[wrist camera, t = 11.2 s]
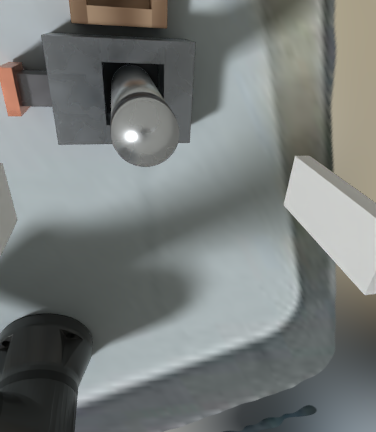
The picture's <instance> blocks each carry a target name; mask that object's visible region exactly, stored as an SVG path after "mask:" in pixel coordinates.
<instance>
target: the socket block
mask: <svg viewBox="0 0 376 432" xmlns="http://www.w3.org/2000/svg"><path fill="white" fill-rule="evenodd" d="M41 38H42V44H43V50H44V57H45V63H46V69H47V75H48V82H49V88H50V94H51V100H52V107H53V113H54V119H55V125H56V131H57V138H58V144H59V145H73V144H113V143H112V139H111V134H110V120H111V113H107V108H106V104H105V96H104V84H103V62H117V63H146V64H158V91H159V92H160V94H161V96H162V97H163V99H164V100H165V102H166V103H167V104H168V105H169V107H170V109H171V110H172V112H173V113H174V115H175V117H176V120H177V123H178V126H179V141H178V143H190V129H191V111H192V94H193V76H194V58H195V42H192V41H189V40H186V39H166V38H146V37H126V36H106V35H86V34H66V33H47V34H43V35H41Z"/></svg>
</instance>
